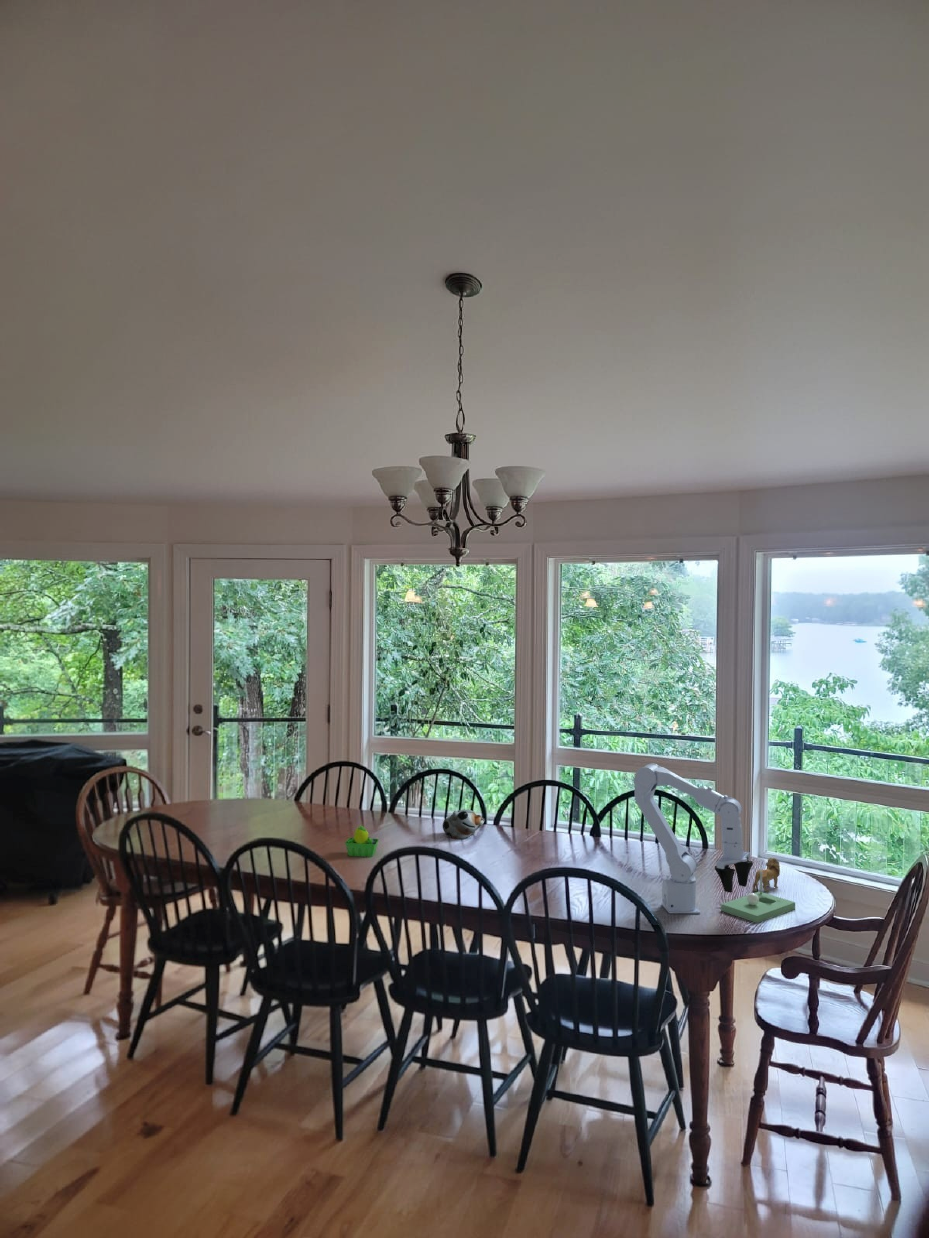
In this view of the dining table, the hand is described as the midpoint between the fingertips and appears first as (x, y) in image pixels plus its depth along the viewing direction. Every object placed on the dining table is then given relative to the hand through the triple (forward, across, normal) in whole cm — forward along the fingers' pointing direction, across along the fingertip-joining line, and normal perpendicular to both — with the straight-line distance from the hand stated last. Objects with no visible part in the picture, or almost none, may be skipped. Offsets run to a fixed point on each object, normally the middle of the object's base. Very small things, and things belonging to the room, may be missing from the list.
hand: (735, 888), depth 225 cm
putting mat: (+9, +12, 0) cm, 15 cm away
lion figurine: (+9, +33, +10) cm, 35 cm away
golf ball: (+5, +9, 0) cm, 10 cm away
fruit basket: (0, -53, +120) cm, 132 cm away
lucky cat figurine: (+1, -6, +119) cm, 119 cm away
